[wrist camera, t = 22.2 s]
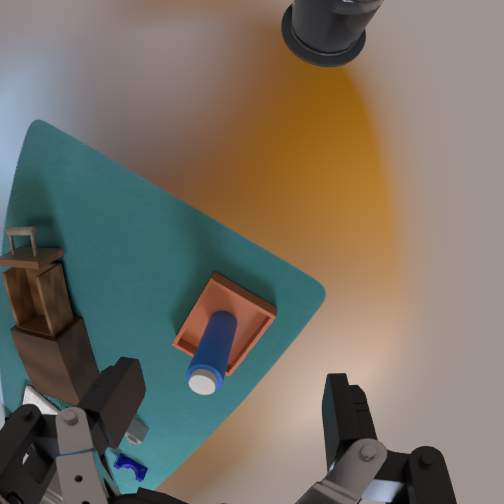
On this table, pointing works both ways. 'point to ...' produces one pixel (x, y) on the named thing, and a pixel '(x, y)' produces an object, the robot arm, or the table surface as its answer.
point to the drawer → (36, 286)
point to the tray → (235, 302)
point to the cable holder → (130, 466)
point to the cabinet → (58, 361)
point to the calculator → (39, 401)
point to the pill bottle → (212, 354)
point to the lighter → (136, 432)
